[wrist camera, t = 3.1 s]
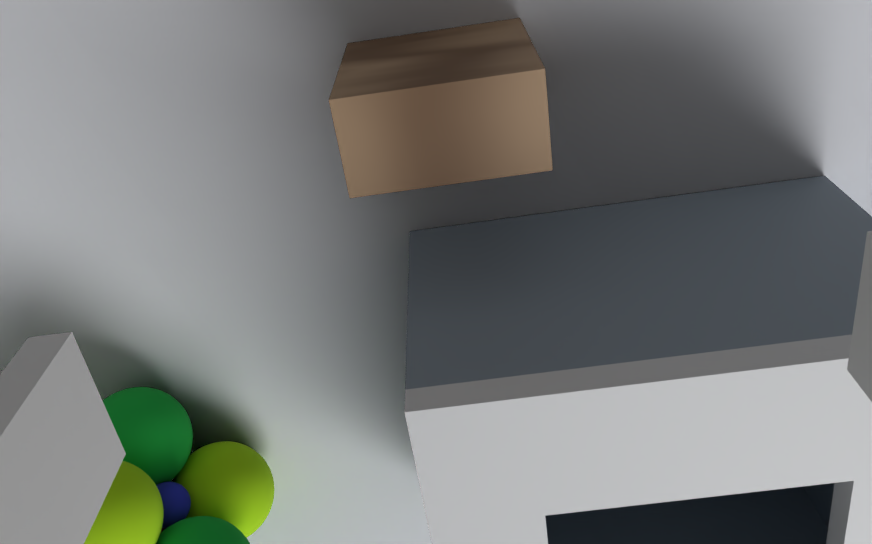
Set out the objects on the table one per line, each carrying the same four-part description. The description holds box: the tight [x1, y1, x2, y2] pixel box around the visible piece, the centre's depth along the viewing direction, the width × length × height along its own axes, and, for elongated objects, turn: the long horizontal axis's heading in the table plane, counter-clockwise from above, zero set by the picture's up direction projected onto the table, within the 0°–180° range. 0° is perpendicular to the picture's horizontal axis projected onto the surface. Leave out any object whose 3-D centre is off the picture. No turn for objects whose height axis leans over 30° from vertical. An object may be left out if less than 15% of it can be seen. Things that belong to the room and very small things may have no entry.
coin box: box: [405, 176, 872, 544], centre depth 29 cm, size 16×14×11 cm
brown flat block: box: [329, 18, 553, 198], centre depth 25 cm, size 6×3×6 cm, turn 98°
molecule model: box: [84, 387, 274, 544], centre depth 33 cm, size 9×9×9 cm
